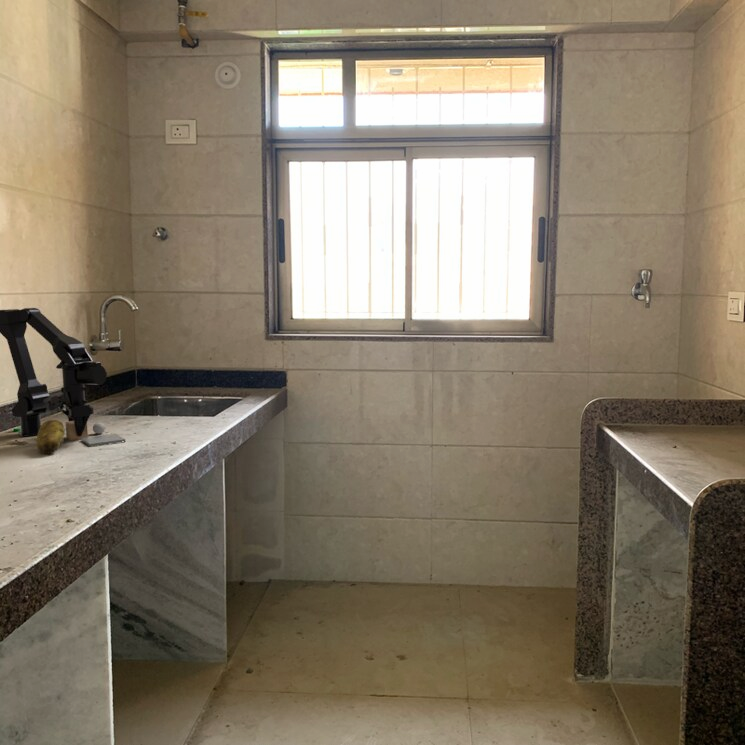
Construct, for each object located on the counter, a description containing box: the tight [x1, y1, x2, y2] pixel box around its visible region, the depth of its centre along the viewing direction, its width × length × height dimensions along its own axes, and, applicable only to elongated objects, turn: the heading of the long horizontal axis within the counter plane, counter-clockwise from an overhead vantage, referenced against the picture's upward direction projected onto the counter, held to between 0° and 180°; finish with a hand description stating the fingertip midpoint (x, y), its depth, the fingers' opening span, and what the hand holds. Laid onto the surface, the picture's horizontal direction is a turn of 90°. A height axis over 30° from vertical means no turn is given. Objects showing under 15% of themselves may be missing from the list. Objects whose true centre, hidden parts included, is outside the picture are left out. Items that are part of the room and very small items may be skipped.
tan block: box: [65, 421, 89, 441], centre depth 216 cm, size 5×5×5 cm
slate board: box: [80, 433, 126, 447], centre depth 211 cm, size 10×10×1 cm
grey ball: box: [92, 422, 106, 435], centre depth 222 cm, size 4×4×4 cm
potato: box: [36, 419, 66, 455], centre depth 200 cm, size 8×13×8 cm, turn 1°
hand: (76, 434), depth 216 cm, fingers open, 6 cm apart
